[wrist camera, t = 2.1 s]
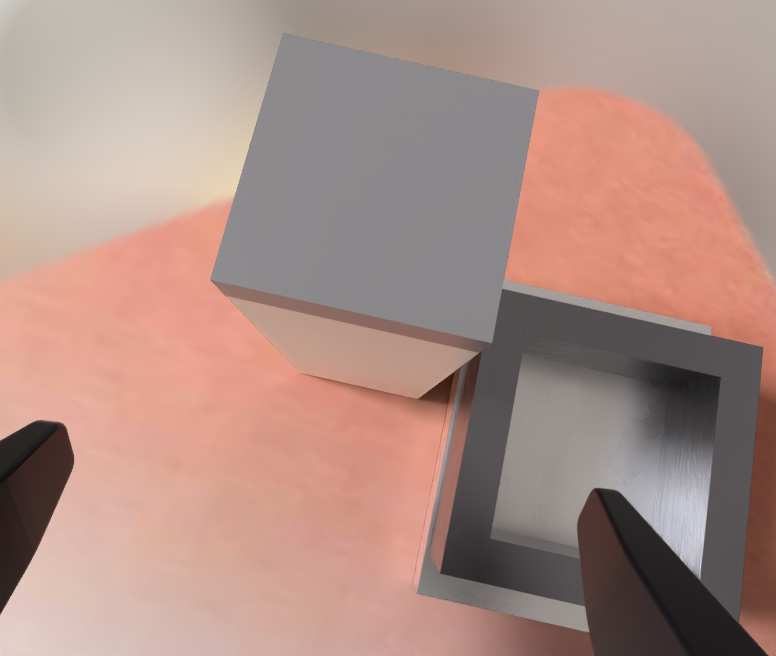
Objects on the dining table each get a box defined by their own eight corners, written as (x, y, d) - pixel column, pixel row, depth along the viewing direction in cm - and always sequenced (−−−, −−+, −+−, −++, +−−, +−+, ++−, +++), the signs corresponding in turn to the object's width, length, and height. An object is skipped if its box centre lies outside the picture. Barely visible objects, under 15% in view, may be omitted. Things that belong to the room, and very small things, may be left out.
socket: (653, 636, 20) (736, 692, 15) (412, 582, 20) (426, 622, 15) (688, 334, 22) (770, 307, 18) (471, 285, 22) (498, 246, 18)
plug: (417, 399, 21) (492, 343, 9) (299, 372, 21) (210, 279, 9) (441, 285, 22) (539, 91, 10) (327, 259, 22) (282, 33, 10)
